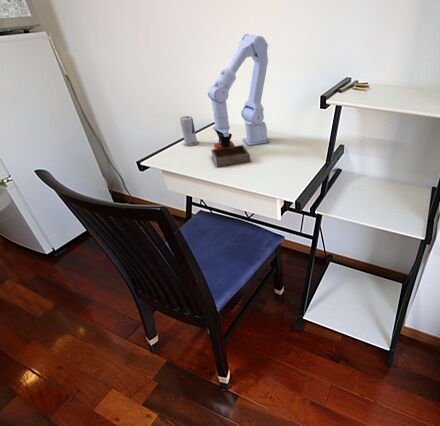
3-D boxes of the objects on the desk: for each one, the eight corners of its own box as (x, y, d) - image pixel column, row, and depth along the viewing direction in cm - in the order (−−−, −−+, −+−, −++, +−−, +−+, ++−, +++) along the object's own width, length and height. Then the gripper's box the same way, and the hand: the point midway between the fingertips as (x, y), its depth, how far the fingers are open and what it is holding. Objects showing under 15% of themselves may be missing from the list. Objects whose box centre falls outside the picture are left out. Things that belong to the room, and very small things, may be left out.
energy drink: (199, 141, 143) (194, 116, 136) (194, 146, 138) (189, 120, 132) (188, 141, 143) (182, 115, 136) (183, 145, 139) (177, 119, 132)
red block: (230, 136, 137) (233, 141, 133) (232, 146, 139) (235, 150, 135) (213, 139, 134) (215, 143, 130) (214, 149, 136) (217, 153, 132)
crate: (243, 152, 134) (242, 145, 132) (250, 161, 127) (249, 154, 125) (212, 157, 129) (211, 149, 127) (217, 167, 122) (216, 159, 120)
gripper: (208, 112, 131) (212, 142, 139) (214, 122, 120) (219, 154, 128) (224, 110, 134) (228, 140, 141) (232, 120, 123) (235, 151, 131)
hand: (225, 146), depth 135 cm, fingers closed on red block, 5 cm apart
